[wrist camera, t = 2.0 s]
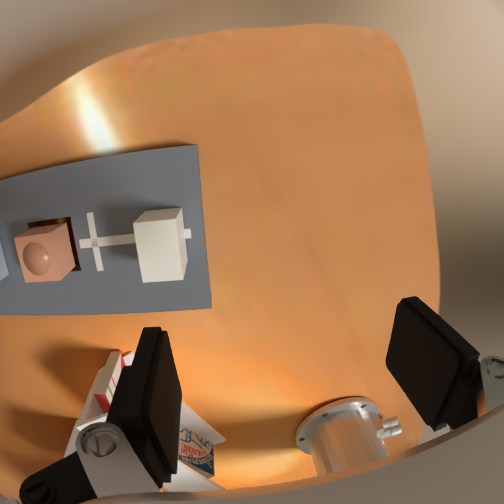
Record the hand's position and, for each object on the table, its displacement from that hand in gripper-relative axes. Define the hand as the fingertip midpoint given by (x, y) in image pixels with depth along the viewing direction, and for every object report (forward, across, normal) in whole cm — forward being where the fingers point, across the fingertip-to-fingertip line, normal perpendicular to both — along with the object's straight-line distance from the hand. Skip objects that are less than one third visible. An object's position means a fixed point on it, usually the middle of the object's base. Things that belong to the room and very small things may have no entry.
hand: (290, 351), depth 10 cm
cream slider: (+16, +6, 0) cm, 17 cm away
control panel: (+18, +16, 0) cm, 24 cm away
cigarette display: (+18, +11, +22) cm, 31 cm away
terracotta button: (+16, +17, 0) cm, 24 cm away
